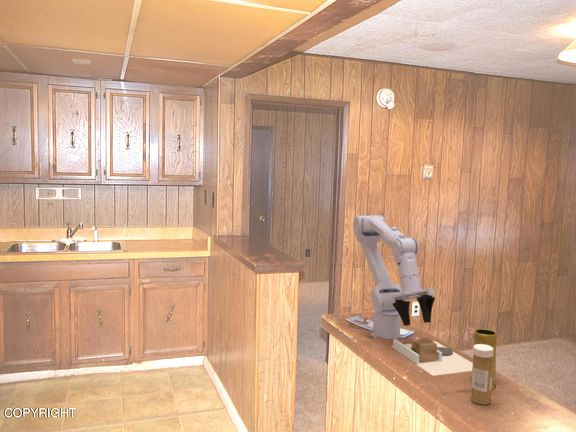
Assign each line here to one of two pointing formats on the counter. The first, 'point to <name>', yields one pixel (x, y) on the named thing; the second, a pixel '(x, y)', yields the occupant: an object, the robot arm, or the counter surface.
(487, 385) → the sprinkles bottle
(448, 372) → the board
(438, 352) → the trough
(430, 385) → the counter surface
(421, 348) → the walnut block
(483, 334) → the vase
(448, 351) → the coaster
